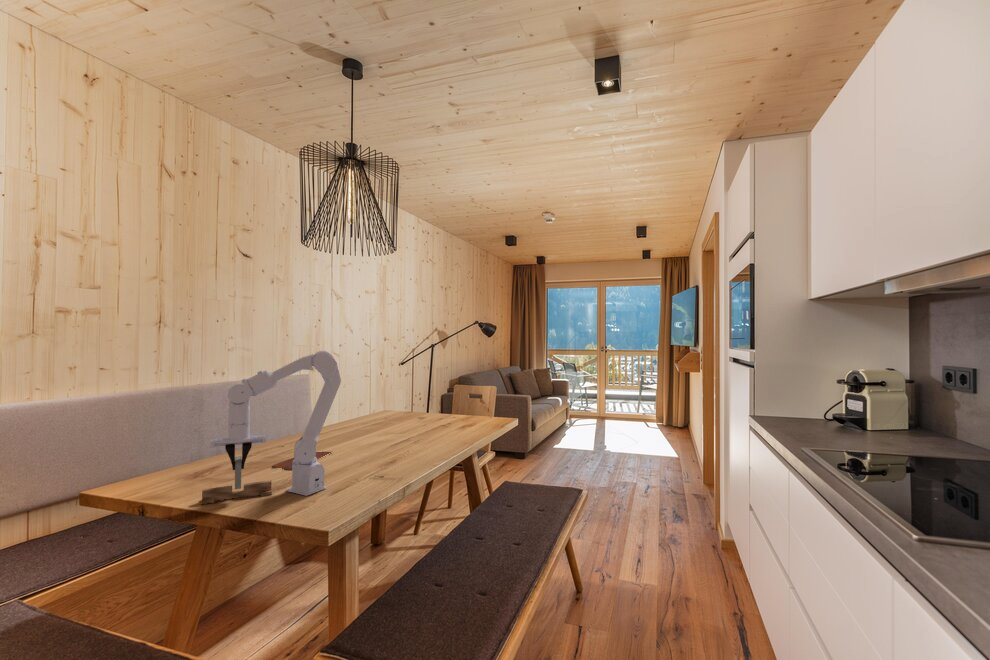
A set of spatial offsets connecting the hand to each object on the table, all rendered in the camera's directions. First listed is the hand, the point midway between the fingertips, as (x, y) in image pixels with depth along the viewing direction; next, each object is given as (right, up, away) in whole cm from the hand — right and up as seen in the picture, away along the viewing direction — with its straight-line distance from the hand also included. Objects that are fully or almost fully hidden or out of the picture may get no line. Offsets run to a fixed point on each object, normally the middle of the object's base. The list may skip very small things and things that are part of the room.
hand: (238, 468), depth 136 cm
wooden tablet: (+3, -10, +41) cm, 42 cm away
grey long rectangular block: (0, -5, 0) cm, 5 cm away
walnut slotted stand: (0, -9, 0) cm, 8 cm away
